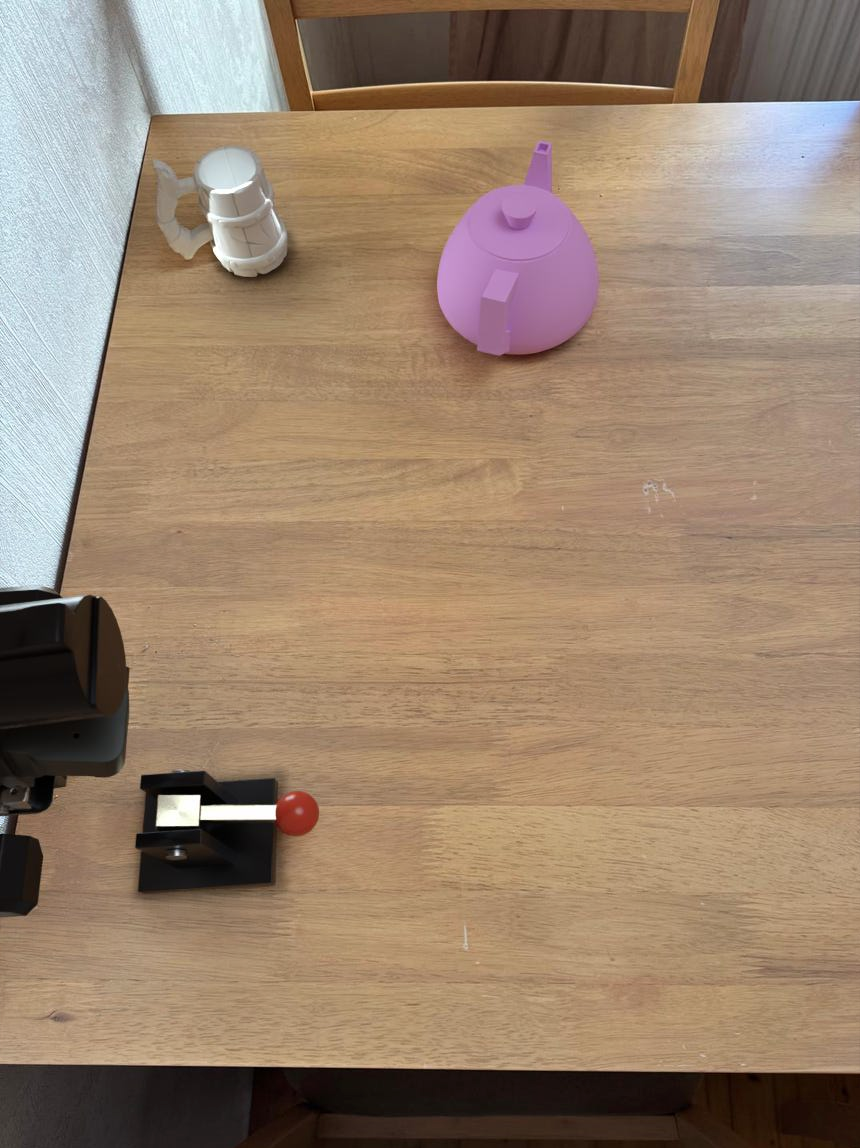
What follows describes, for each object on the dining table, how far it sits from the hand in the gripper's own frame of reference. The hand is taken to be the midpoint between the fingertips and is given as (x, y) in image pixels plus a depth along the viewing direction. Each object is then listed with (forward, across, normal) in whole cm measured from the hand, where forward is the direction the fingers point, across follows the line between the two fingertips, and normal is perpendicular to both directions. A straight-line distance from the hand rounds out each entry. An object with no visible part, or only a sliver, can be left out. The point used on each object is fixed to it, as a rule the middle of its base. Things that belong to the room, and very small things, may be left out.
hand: (59, 781), depth 59 cm
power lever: (+8, -1, -10) cm, 12 cm away
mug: (+13, +58, -6) cm, 60 cm away
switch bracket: (+13, -2, -6) cm, 14 cm away
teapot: (+13, +50, -34) cm, 61 cm away
